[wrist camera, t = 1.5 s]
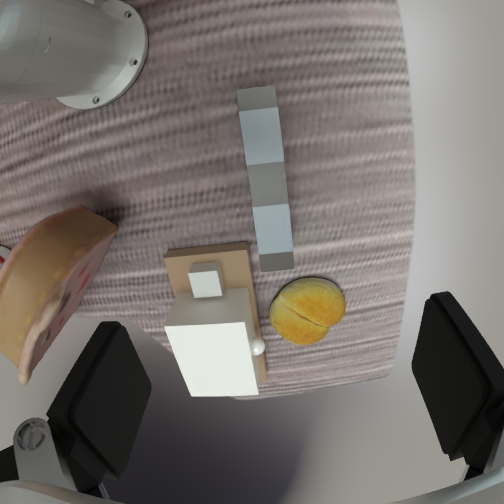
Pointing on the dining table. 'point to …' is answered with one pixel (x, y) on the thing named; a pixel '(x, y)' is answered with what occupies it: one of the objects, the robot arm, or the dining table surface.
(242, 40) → the dining table surface
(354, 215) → the dining table surface
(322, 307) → the bread roll
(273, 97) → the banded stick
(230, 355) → the white block on board
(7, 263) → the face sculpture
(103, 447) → the robot arm
